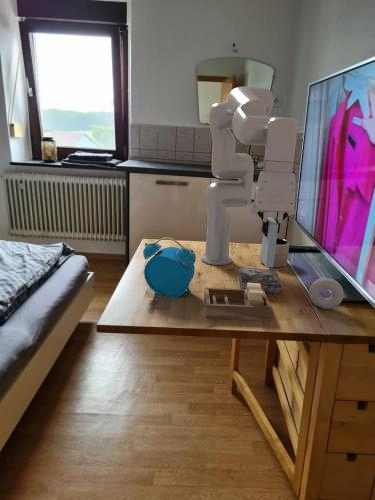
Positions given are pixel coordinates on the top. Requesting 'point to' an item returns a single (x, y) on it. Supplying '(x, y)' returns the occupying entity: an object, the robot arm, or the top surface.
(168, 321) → the top surface
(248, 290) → the offcut top
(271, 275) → the rock
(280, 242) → the planter
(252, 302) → the block
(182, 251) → the alarm clock
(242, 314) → the rack
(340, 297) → the tape roll
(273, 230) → the light blue flat box
